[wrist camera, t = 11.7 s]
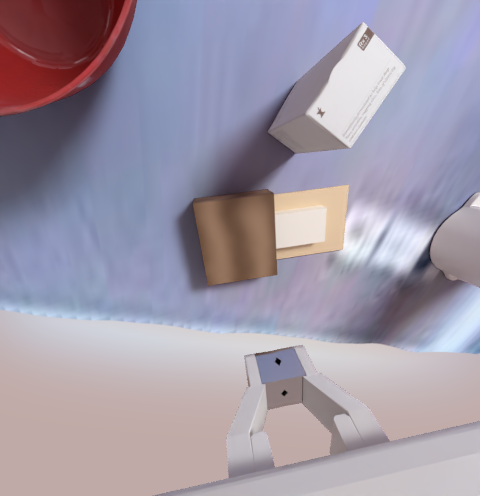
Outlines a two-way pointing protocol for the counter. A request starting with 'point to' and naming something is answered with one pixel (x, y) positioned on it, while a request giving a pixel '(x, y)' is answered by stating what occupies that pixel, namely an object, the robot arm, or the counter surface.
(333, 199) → the mat
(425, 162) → the counter surface
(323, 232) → the white rectangular prism
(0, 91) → the mixing bowl
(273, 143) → the counter surface
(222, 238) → the brown box
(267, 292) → the counter surface
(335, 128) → the skincare box
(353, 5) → the counter surface
